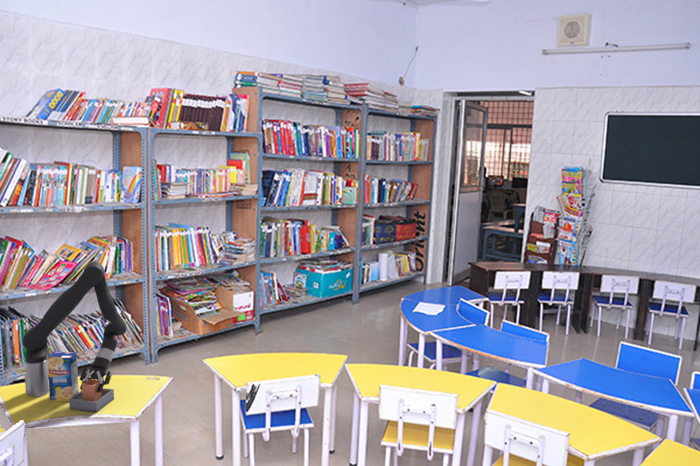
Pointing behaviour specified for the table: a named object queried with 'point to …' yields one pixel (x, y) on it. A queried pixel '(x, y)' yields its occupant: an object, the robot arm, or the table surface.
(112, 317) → the robot arm
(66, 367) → the blue food box
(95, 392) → the orange square cup
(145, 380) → the table surface
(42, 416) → the table surface
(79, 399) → the charcoal crate
